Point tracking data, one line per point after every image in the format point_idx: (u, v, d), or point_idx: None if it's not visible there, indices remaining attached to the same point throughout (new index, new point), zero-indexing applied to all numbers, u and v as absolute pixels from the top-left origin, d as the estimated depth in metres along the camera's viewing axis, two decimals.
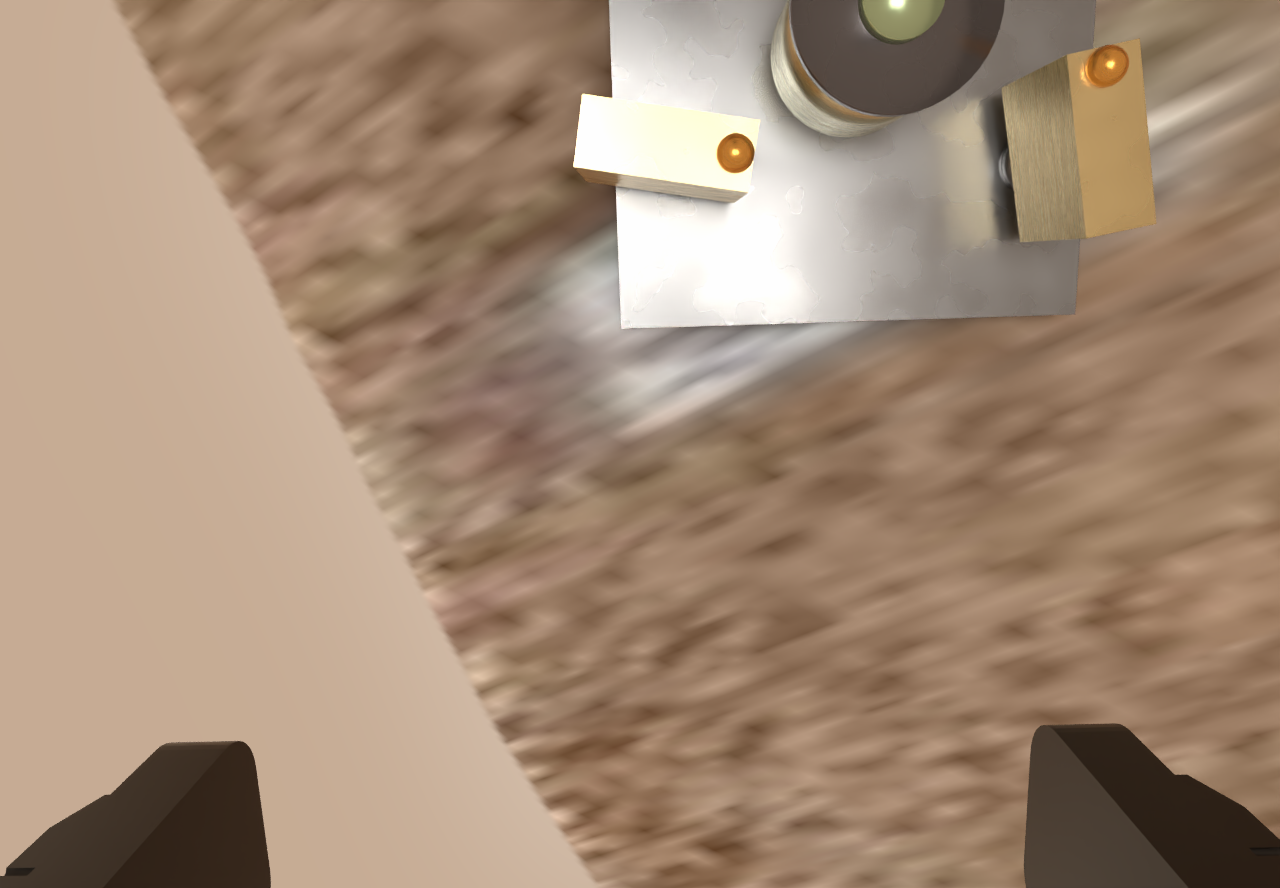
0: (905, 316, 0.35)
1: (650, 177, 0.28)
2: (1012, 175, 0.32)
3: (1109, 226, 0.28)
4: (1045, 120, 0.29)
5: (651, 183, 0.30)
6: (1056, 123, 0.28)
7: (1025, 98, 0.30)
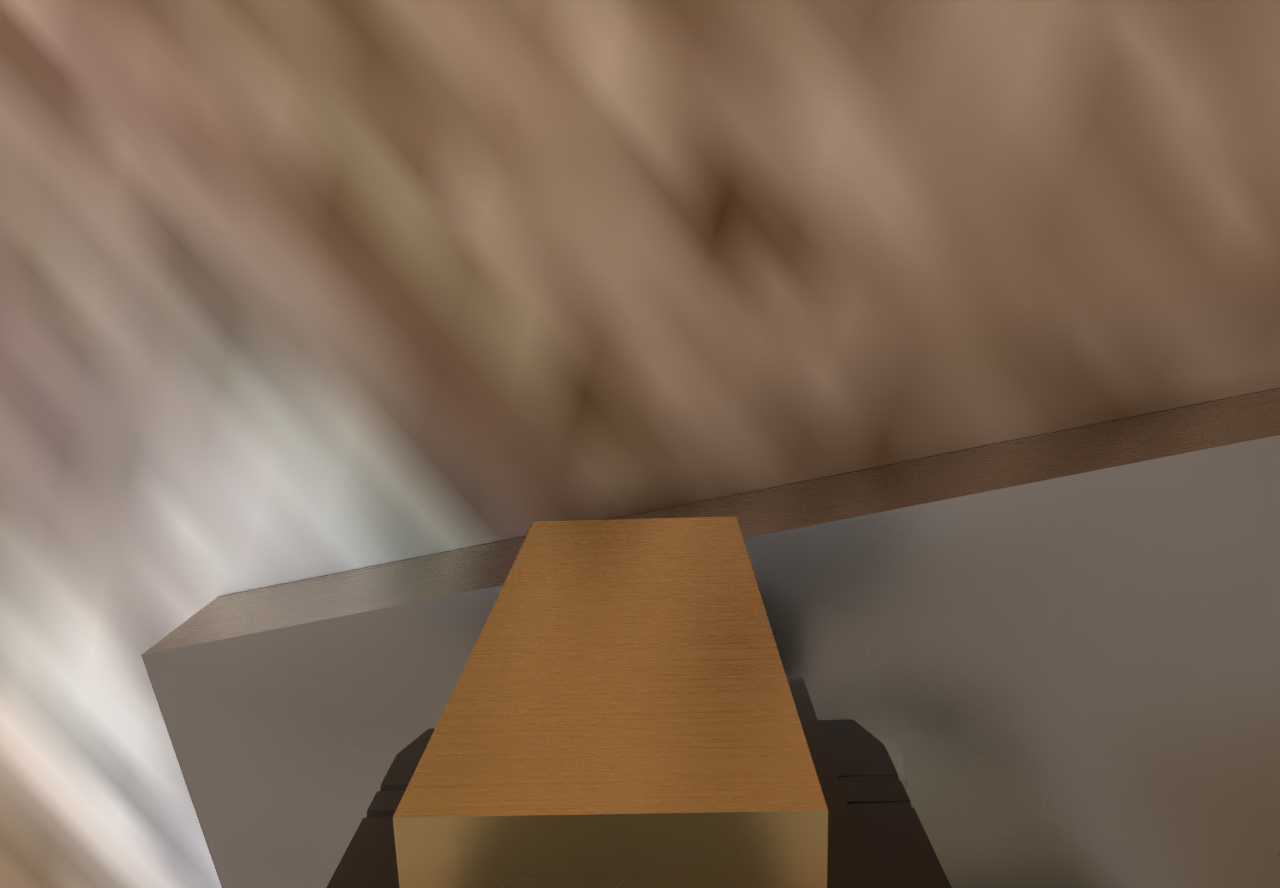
0: None
1: None
2: None
3: None
4: None
5: None
6: None
7: None
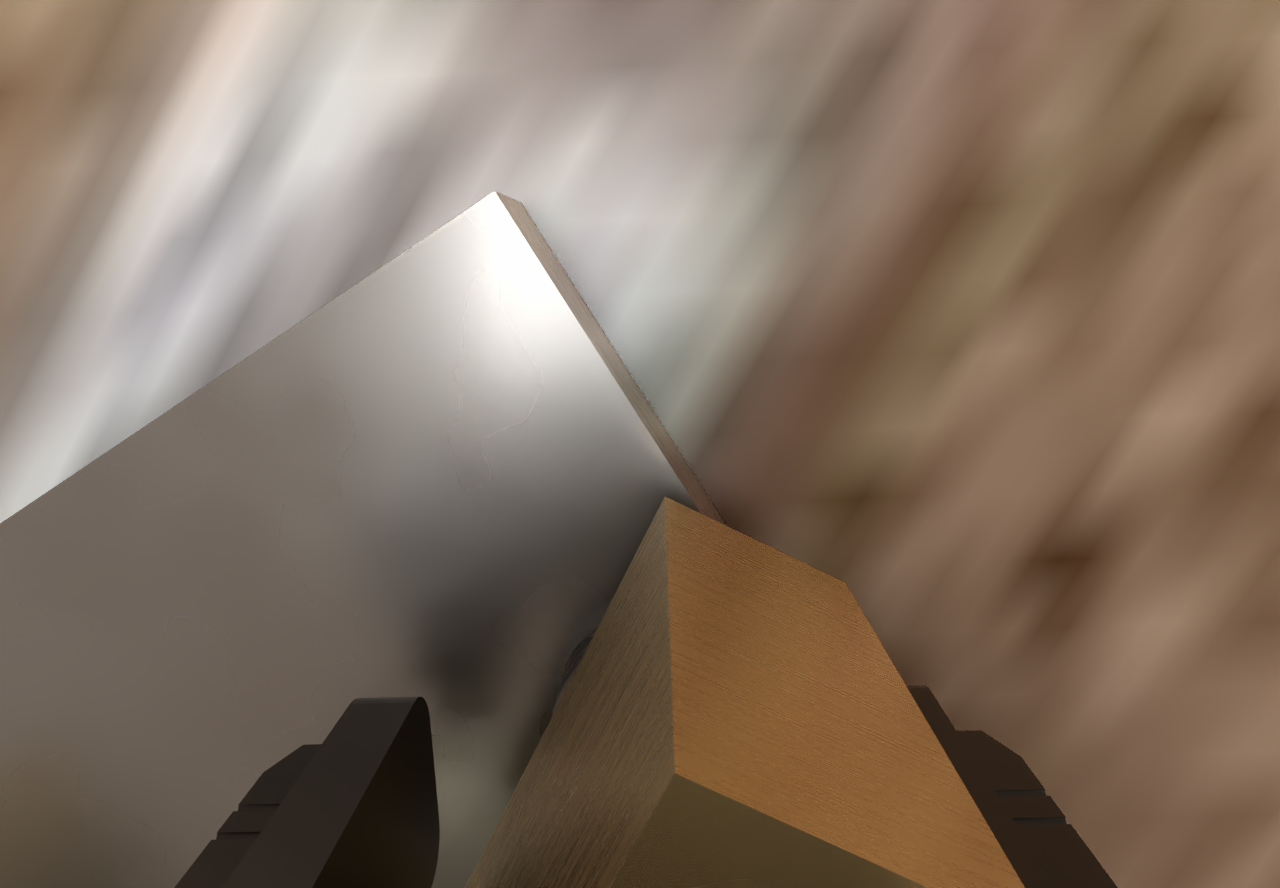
0: None
1: None
2: None
3: None
4: None
5: None
6: None
7: None
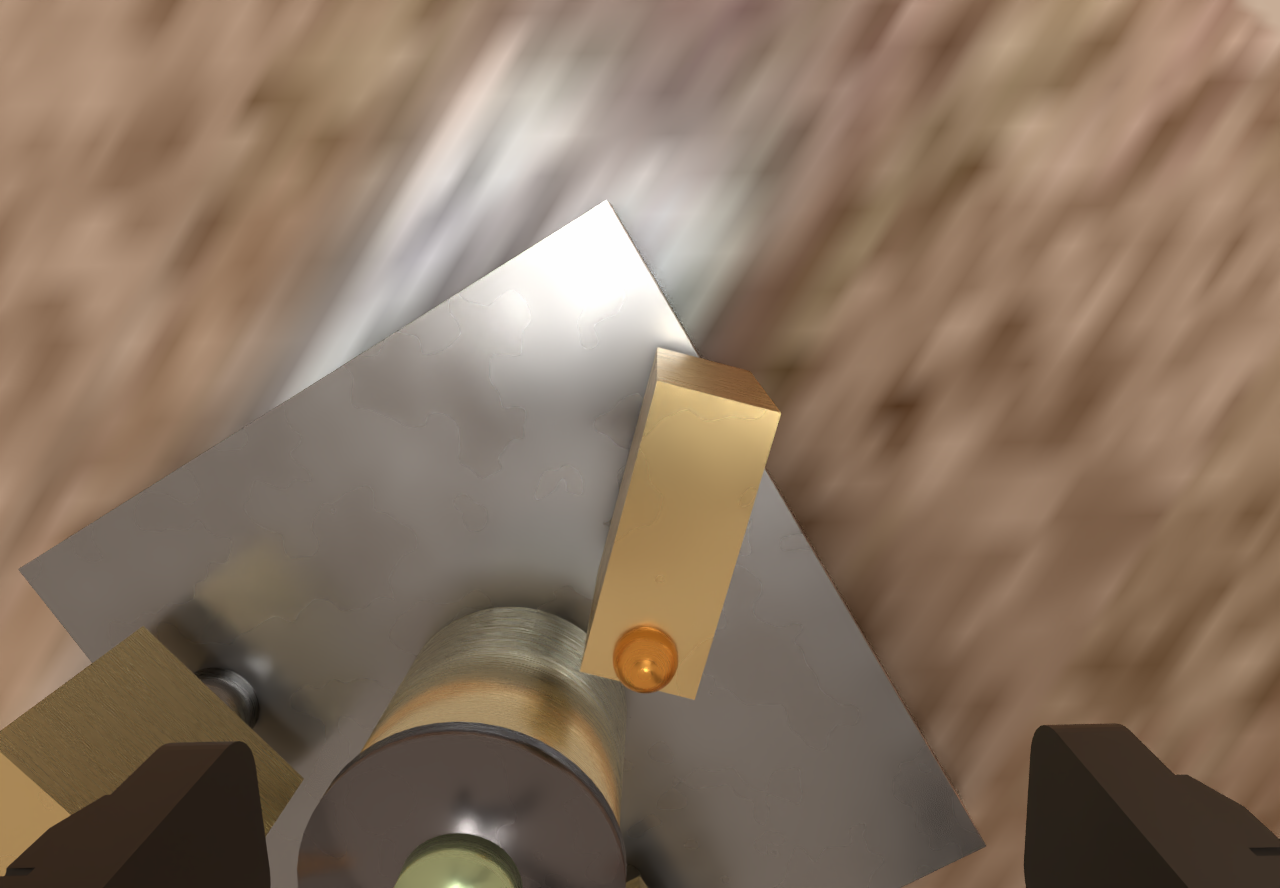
0: (224, 445, 0.22)
1: (623, 512, 0.16)
2: (214, 695, 0.22)
3: None
4: None
5: (625, 487, 0.17)
6: None
7: None
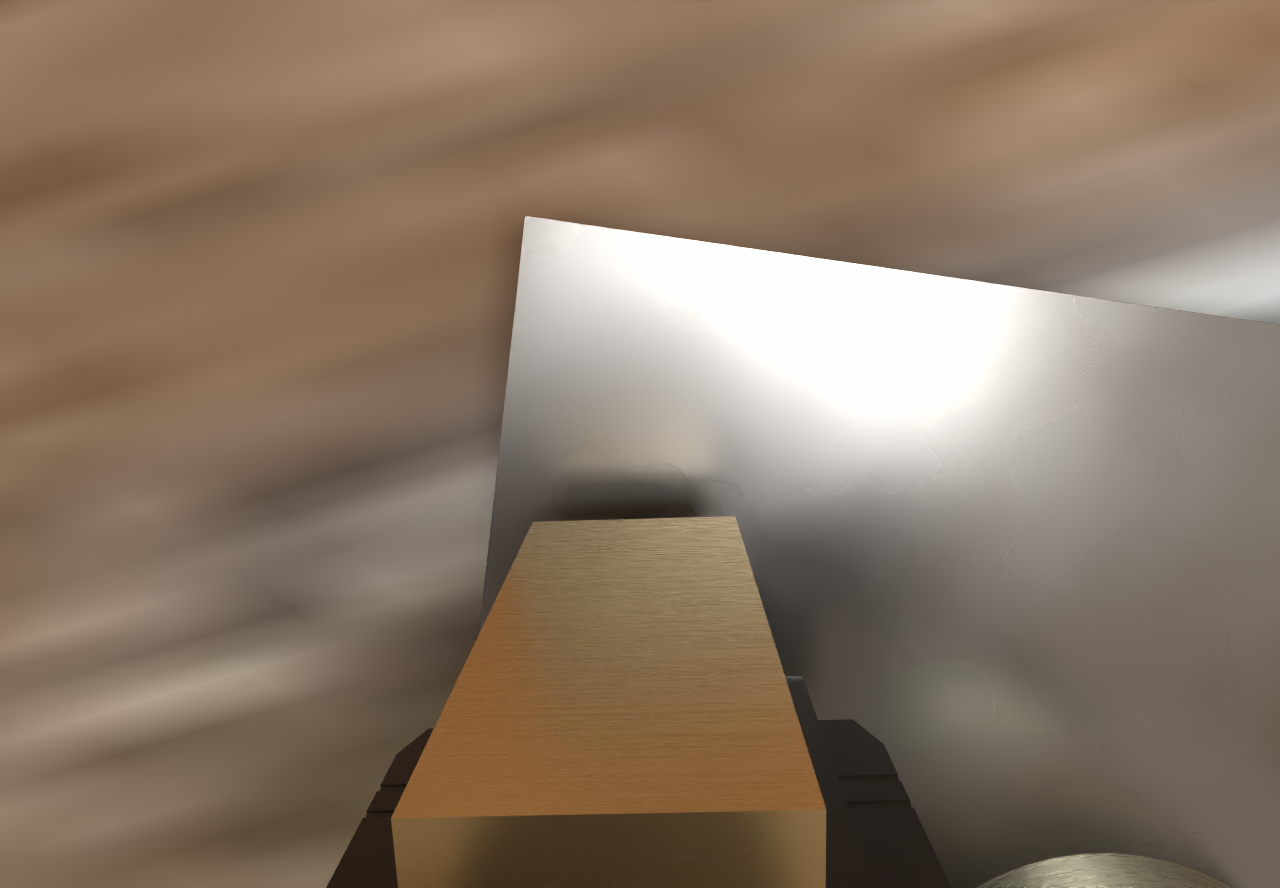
0: (1095, 309, 0.10)
1: None
2: None
3: (681, 849, 0.04)
4: None
5: None
6: None
7: None
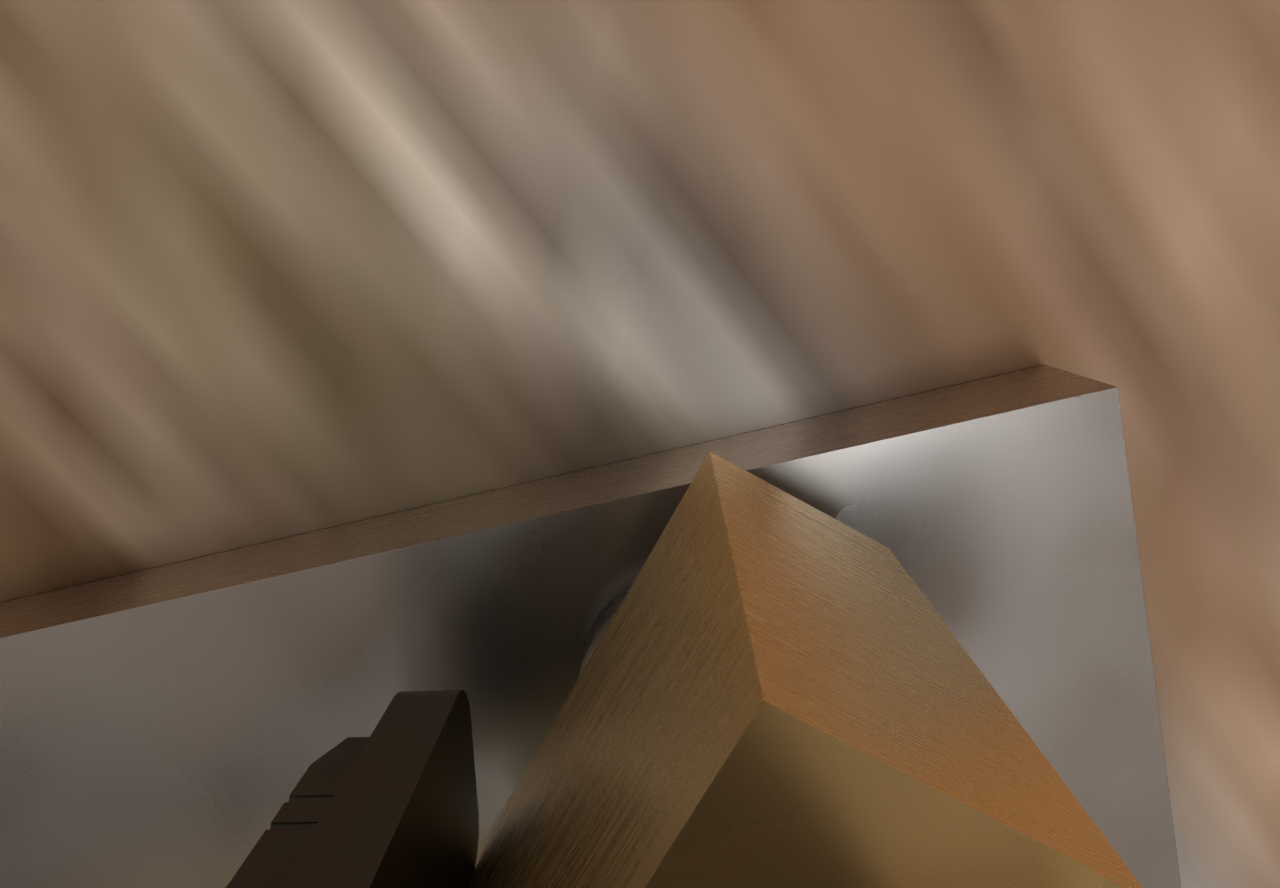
0: (1170, 879, 0.11)
1: None
2: None
3: (1003, 869, 0.04)
4: None
5: None
6: None
7: None
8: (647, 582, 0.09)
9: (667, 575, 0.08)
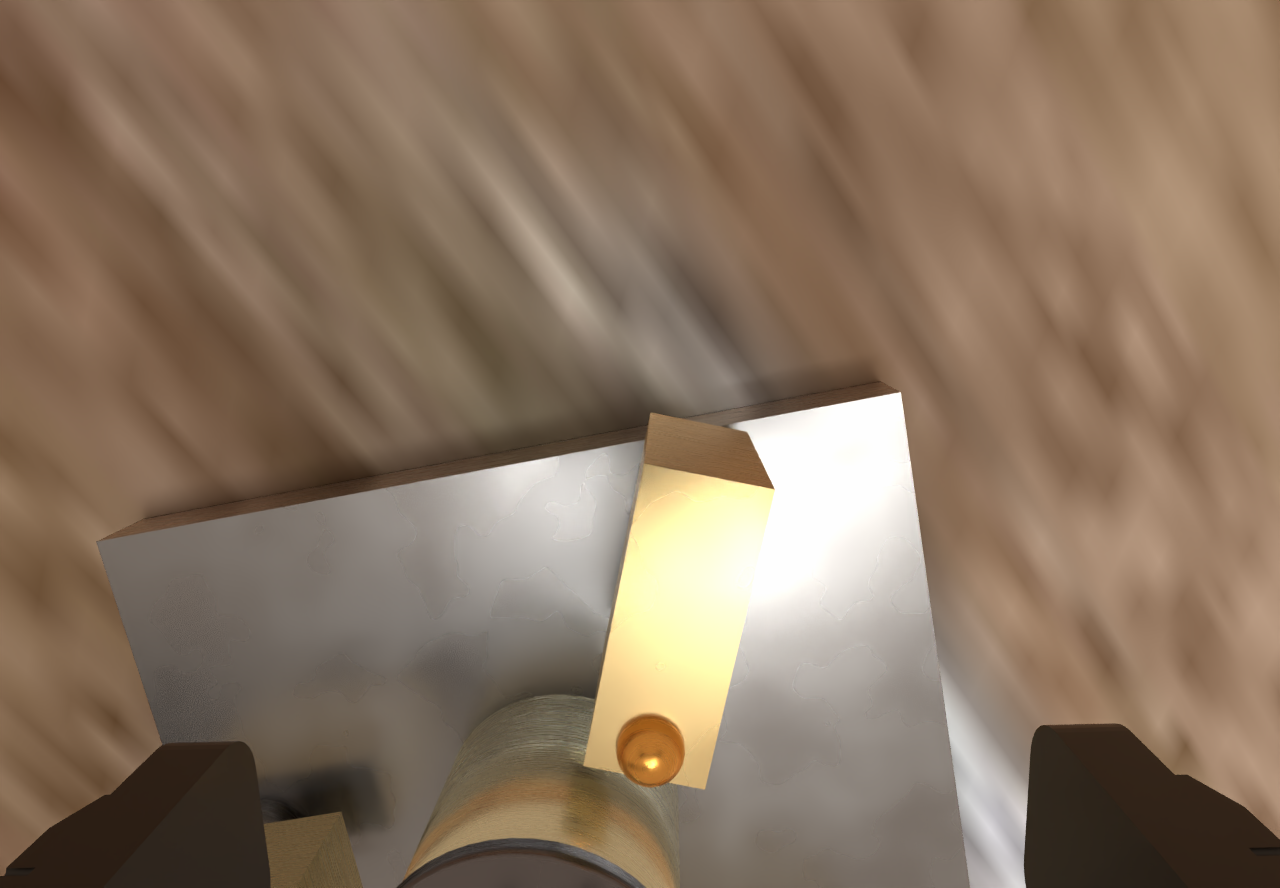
0: (932, 655, 0.22)
1: None
2: None
3: (728, 492, 0.14)
4: None
5: None
6: None
7: None
8: None
9: (640, 466, 0.18)
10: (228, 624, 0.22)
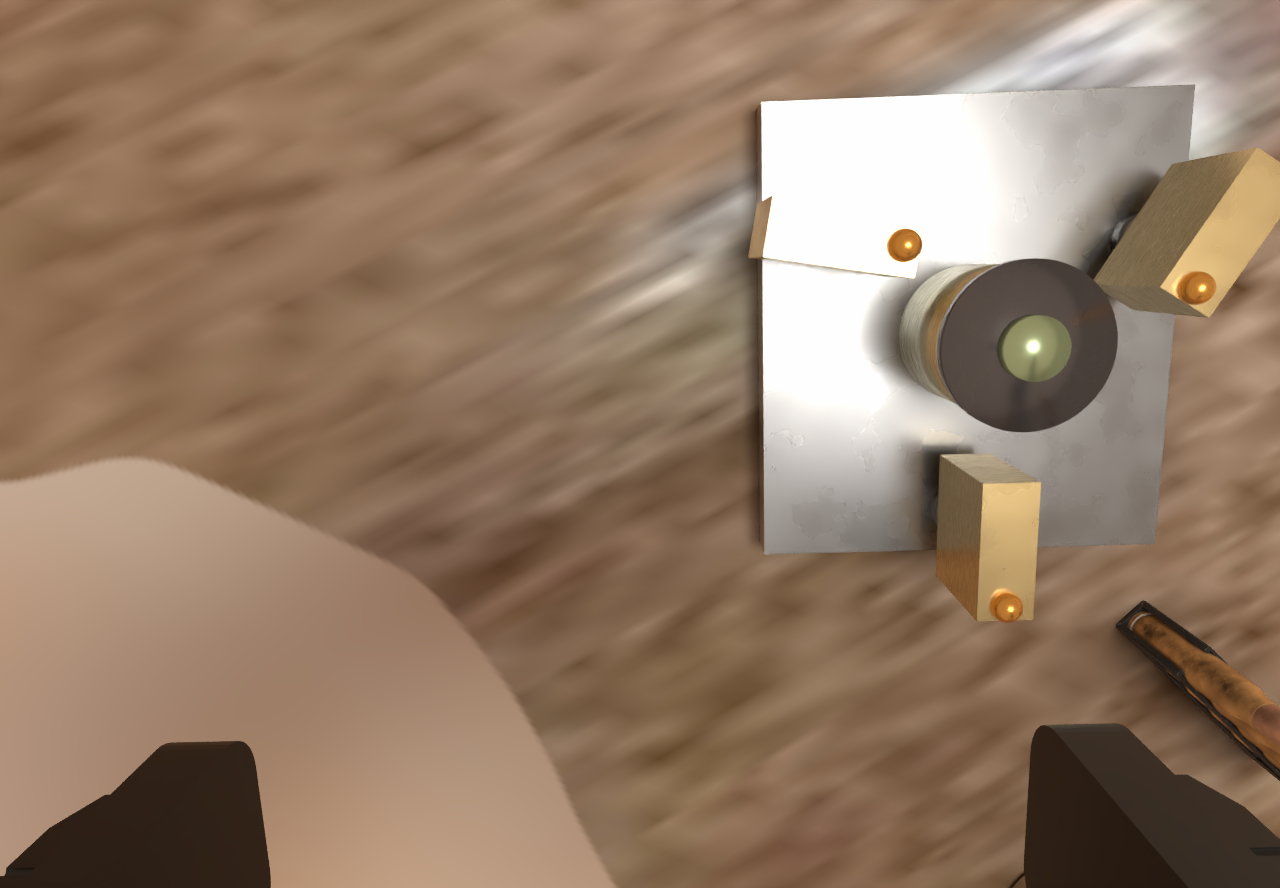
0: (920, 98, 0.37)
1: (1212, 210, 0.31)
2: None
3: (775, 216, 0.32)
4: None
5: (1182, 213, 0.33)
6: None
7: None
8: None
9: (774, 260, 0.36)
10: (823, 497, 0.40)
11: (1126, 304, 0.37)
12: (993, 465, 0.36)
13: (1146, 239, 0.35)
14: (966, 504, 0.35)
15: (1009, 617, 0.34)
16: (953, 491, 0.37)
